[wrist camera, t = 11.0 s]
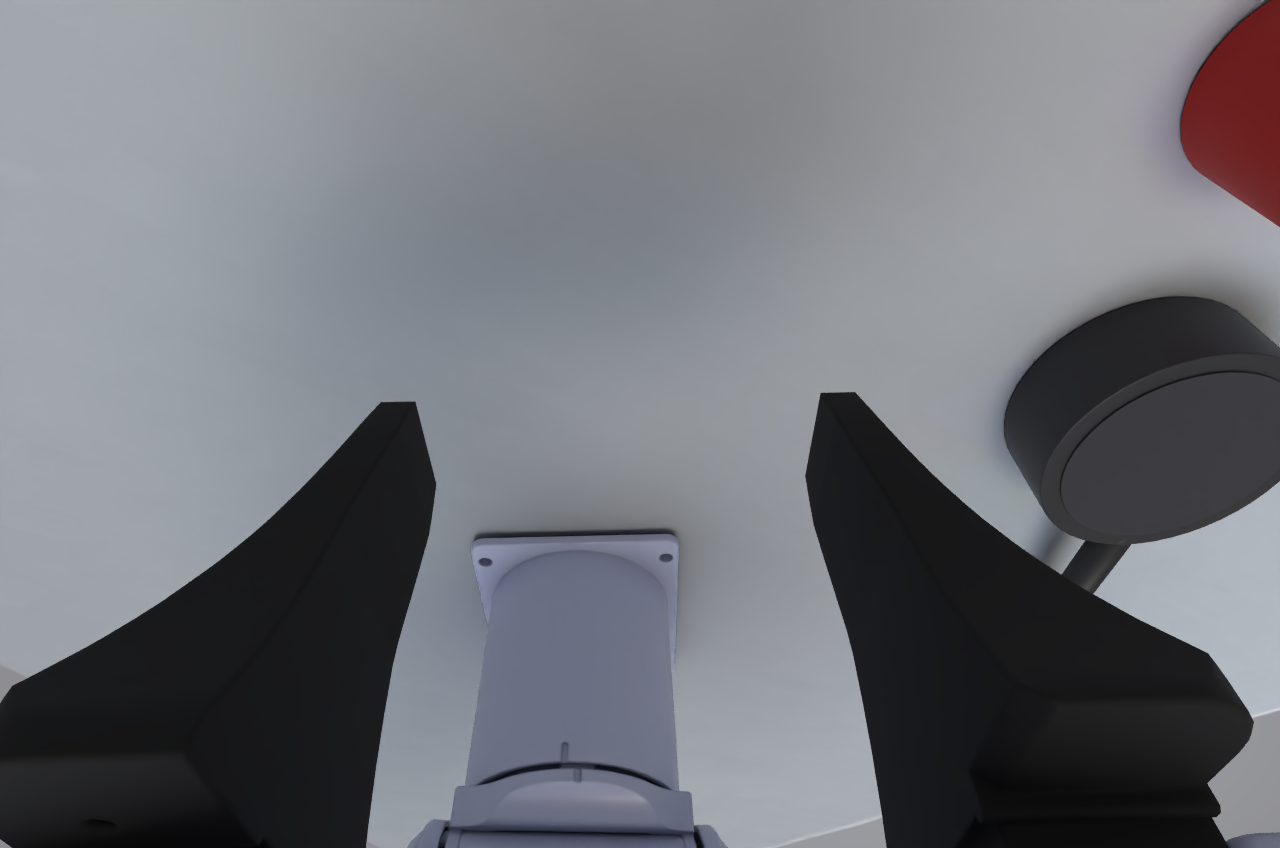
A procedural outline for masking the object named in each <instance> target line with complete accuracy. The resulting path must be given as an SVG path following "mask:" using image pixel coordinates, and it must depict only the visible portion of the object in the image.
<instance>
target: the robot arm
mask: <svg viewBox="0 0 1280 848" xmlns="http://www.w3.org/2000/svg"><path fill="white" fill-rule="evenodd" d="M805 477H806V483H807V489H808V495H809V501H810V507H811V512H812V518H813V523H814V527H815V530H816V534H817V537H818V540H819V544H820V547H821V550H822V553H823V556H824V560H825V563H826V566H827V569H828V572H829V576H830V579H831V582H832V585H833V588H834V591H835V594H836V598H837V601H838V604H839V607H840V610H841V613H842V617H843V620H844V623H845V626H846V629H847V633H848V637H849V640H850V644H851V648H852V652H853V656H854V661H855V666H856V671H857V676H858V681H859V686H860V691H861V696H862V701H863V706H864V711H865V717H866V722H867V728H868V733H869V739H870V744H871V750H872V755H873V761H874V768H875V774H876V780H877V786H878V792H879V798H880V805H881V811H882V817H883V825H884V832H885V839H886V846H887V848H1280V833H1255V834H1247V835H1242V836H1239V837H1235V838H1232V839H1229V840H1228V841H1225V840H1224V838H1223V836H1222V834H1221V833H1220V831H1219V829H1218V827H1217V826H1216V824H1215V822H1214V820H1213V819H1212V817H1217V816H1218V815H1219V814H1220V813H1221V810H1220V805H1219V803H1218V801H1217V799H1216V798H1215V796H1214V794H1213V793H1212V791H1211V789H1210V788H1209V786H1208V784H1207V783H1208V782H1209V781H1210V780H1211V779H1212V778H1213V777H1214V776H1215V775H1216V774H1217V773H1218V772H1219V771H1220V770H1221V769H1222V768H1224V767H1225V766H1226V764H1228V763H1229V762H1230V761H1231V760H1232V759H1233V758H1234V757H1235V756H1236V755H1237V754H1238V753H1239V752H1240V751H1241V749H1242V748H1243V747H1244V746H1245V744H1246V743H1247V742H1248V741H1249V739H1250V736H1251V733H1252V728H1253V724H1254V722H1253V719H1252V717H1251V715H1250V713H1249V711H1248V710H1247V708H1246V707H1245V705H1244V704H1243V702H1242V701H1241V699H1240V698H1239V696H1238V695H1237V693H1236V692H1235V690H1234V689H1233V687H1232V686H1231V684H1230V683H1229V681H1228V680H1227V678H1226V677H1225V676H1224V674H1223V673H1222V671H1221V670H1220V669H1219V667H1218V666H1217V664H1216V663H1215V662H1214V661H1213V659H1212V658H1211V657H1210V655H1209V654H1208V653H1206V652H1204V651H1202V650H1200V649H1198V648H1196V647H1194V646H1192V645H1190V644H1188V643H1186V642H1184V641H1182V640H1179V639H1177V638H1175V637H1173V636H1171V635H1169V634H1167V633H1165V632H1163V631H1161V630H1159V629H1157V628H1155V627H1153V626H1151V625H1149V624H1147V623H1145V622H1142V621H1140V620H1139V619H1137V618H1135V617H1133V616H1131V615H1129V614H1127V613H1126V612H1124V611H1122V610H1120V609H1118V608H1117V607H1115V606H1113V605H1111V604H1110V603H1108V602H1106V601H1104V600H1102V599H1101V598H1099V597H1097V596H1095V595H1093V594H1092V593H1090V592H1088V591H1087V590H1085V589H1083V588H1082V587H1080V586H1078V585H1077V584H1075V583H1073V582H1072V581H1070V580H1069V579H1067V578H1065V577H1064V576H1062V575H1061V574H1059V573H1058V572H1056V571H1055V570H1053V569H1052V568H1050V567H1049V566H1047V565H1046V564H1044V563H1043V562H1041V561H1039V560H1038V559H1036V558H1035V557H1033V556H1032V555H1031V554H1029V553H1028V552H1026V551H1025V550H1023V549H1022V548H1021V547H1019V546H1018V545H1016V544H1015V543H1014V542H1012V541H1011V540H1010V539H1008V538H1007V537H1006V536H1005V535H1003V534H1002V533H1001V532H999V531H998V530H997V529H995V528H994V527H993V526H991V525H990V524H989V523H988V522H986V521H985V520H984V519H982V518H981V517H980V516H979V515H978V514H976V513H975V512H974V511H973V510H972V509H970V508H969V507H968V506H967V505H966V504H965V503H963V502H962V501H961V500H960V499H959V498H958V497H957V496H956V495H954V494H953V493H952V492H951V491H950V490H949V489H948V488H947V487H946V486H944V485H943V484H942V483H941V482H940V481H939V480H938V479H937V478H936V477H935V476H934V475H933V474H932V473H931V472H930V471H929V470H928V469H927V468H926V467H925V466H924V465H923V464H922V463H921V462H920V461H919V460H918V459H917V458H916V457H915V456H914V455H913V454H912V453H911V452H910V451H909V450H908V449H907V448H906V447H905V446H904V445H903V444H902V443H901V442H900V441H899V440H898V438H897V437H896V436H895V435H894V434H893V433H892V432H891V431H890V430H889V429H888V428H887V427H886V425H885V424H884V423H883V422H882V421H881V420H880V419H879V418H878V417H877V416H876V415H875V413H874V412H873V411H872V410H871V409H870V408H869V407H868V406H867V405H866V404H865V402H864V401H863V400H862V399H861V398H860V397H859V396H858V395H857V394H856V393H855V392H843V393H821V395H820V400H819V405H818V411H817V416H816V421H815V427H814V432H813V437H812V443H811V448H810V453H809V459H808V464H807V470H806V475H805ZM435 490H436V481H435V477H434V473H433V469H432V465H431V462H430V458H429V454H428V450H427V446H426V442H425V438H424V434H423V430H422V426H421V422H420V418H419V414H418V410H417V406H416V402H381V403H380V404H379V405H378V406H377V407H376V408H375V409H374V410H373V411H372V412H371V413H370V414H369V415H368V417H367V418H366V419H365V420H364V421H363V422H362V423H361V424H360V425H359V427H358V428H357V429H356V430H355V431H354V432H353V433H352V434H351V436H350V437H349V438H348V439H347V440H346V441H345V442H344V443H343V444H342V446H341V447H340V448H339V449H338V450H337V451H336V452H335V453H334V454H333V456H332V457H331V458H330V459H329V460H328V461H327V462H326V463H325V464H324V465H323V466H322V467H321V468H320V469H319V470H318V471H317V473H316V474H315V475H314V476H313V477H312V478H311V479H310V480H309V481H308V482H307V483H306V484H305V485H304V486H303V487H302V488H301V489H300V490H299V491H298V492H297V493H296V494H295V495H294V496H293V497H292V498H291V499H290V500H289V501H288V502H287V503H286V504H285V505H284V506H283V507H282V508H281V509H279V510H278V511H277V512H276V513H275V514H274V515H273V516H272V517H271V518H270V519H269V520H268V521H267V522H266V523H265V524H263V525H262V526H261V527H260V528H259V529H258V530H256V531H255V532H254V533H253V534H252V535H251V536H249V537H248V538H247V539H246V540H245V541H243V542H242V543H241V544H240V545H238V546H237V547H236V548H235V549H233V550H232V551H231V552H230V553H229V554H227V555H226V556H225V557H224V558H222V559H221V560H220V561H218V562H217V563H216V564H214V565H213V566H212V567H210V568H209V569H207V570H206V571H205V572H203V573H202V574H200V575H199V576H198V577H196V578H195V579H193V580H192V581H190V582H189V583H188V584H186V585H185V586H183V587H182V588H181V589H179V590H178V591H176V592H175V593H174V594H172V595H171V596H169V597H168V598H166V599H165V600H163V601H162V602H160V603H159V604H157V605H156V606H154V607H153V608H151V609H149V610H148V611H146V612H145V613H143V614H142V615H140V616H138V617H137V618H135V619H134V620H132V621H130V622H129V623H127V624H125V625H124V626H122V627H120V628H119V629H117V630H115V631H114V632H112V633H110V634H109V635H107V636H105V637H104V638H102V639H100V640H98V641H96V642H95V643H93V644H91V645H89V646H88V647H86V648H84V649H82V650H80V651H78V652H77V653H75V654H73V655H71V656H69V657H67V658H65V659H63V660H61V661H59V662H58V663H56V664H54V665H52V666H50V667H48V668H46V669H44V670H42V671H41V672H39V673H37V674H35V675H33V676H31V677H29V678H27V679H25V680H23V681H21V682H19V683H17V684H15V685H13V686H12V687H11V689H10V690H9V691H8V693H7V694H6V696H5V697H4V698H3V700H2V701H1V703H0V839H1V840H2V841H4V842H5V843H6V844H8V845H9V846H10V847H12V848H366V841H367V832H368V824H369V816H370V809H371V801H372V793H373V786H374V778H375V771H376V764H377V757H378V751H379V744H380V738H381V731H382V725H383V718H384V712H385V706H386V701H387V695H388V689H389V684H390V678H391V672H392V667H393V662H394V658H395V654H396V649H397V645H398V641H399V638H400V634H401V631H402V627H403V624H404V620H405V617H406V613H407V610H408V607H409V603H410V600H411V596H412V593H413V589H414V586H415V582H416V579H417V576H418V572H419V569H420V565H421V561H422V558H423V554H424V551H425V547H426V544H427V540H428V536H429V531H430V525H431V519H432V512H433V505H434V497H435ZM665 554H666V555H665ZM471 556H472V560H473V565H474V569H475V573H476V578H477V582H478V586H479V591H480V595H481V599H482V604H483V608H484V612H485V616H486V621H487V625H488V633H487V640H486V647H485V653H484V660H483V667H482V674H481V680H480V687H479V694H478V701H477V707H476V714H475V721H474V727H473V734H472V741H471V748H470V754H469V761H468V768H467V775H466V781H465V786H459V787H457V788H456V789H455V795H454V801H453V808H452V814H451V820H450V821H449V820H437V819H434V820H431V821H430V822H429V823H428V824H426V826H425V828H424V829H423V831H422V832H420V833H419V834H418V835H417V836H416V837H415V838H414V839H413V840H412V841H411V842H410V843H409V845H408V847H407V848H728V847H727V846H726V845H725V844H724V842H723V841H722V840H721V839H720V837H719V835H718V834H717V832H716V831H715V829H714V828H713V827H711V826H709V825H694V821H693V808H692V795H691V793H690V792H685V791H679V779H678V763H677V747H676V732H675V716H674V700H673V684H672V673H673V672H674V663H675V638H676V614H677V589H678V564H679V542H678V539H677V538H676V537H675V536H673V535H671V534H643V535H601V536H559V537H517V538H482V539H478V540H476V541H474V542H473V544H472V548H471ZM485 558H488V559H485Z"/></svg>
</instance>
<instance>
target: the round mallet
mask: <svg viewBox="0 0 1280 848" xmlns="http://www.w3.org/2000/svg"><path fill="white" fill-rule="evenodd" d="M1004 435H1005V440H1006V444H1007V447H1008V449H1009V452H1010V454H1011V456H1012V457H1013V459H1014V461H1015V462H1016V464H1017V466H1018V468H1019V469H1020V471H1021V473H1022V474H1023V476H1024V478H1025V479H1026V481H1027V483H1028V485H1029V486H1030V488H1031V490H1032V491H1033V493H1034V495H1035V497H1036V498H1037V500H1038V502H1039V503H1040V505H1041V507H1042V509H1043V510H1044V512H1045V514H1046V515H1047V516H1048V518H1049V519H1050V520H1051V521H1052V523H1053V524H1055V525H1056V526H1057V527H1058V528H1060V529H1061V530H1062V531H1064V532H1066V533H1068V534H1070V535H1071V536H1074V537H1077V538H1079V539H1082V540H1085V542H1084V543H1083V545H1082V546H1081V548H1080V549H1079V550H1078V552H1077V553H1076V555H1075V556H1074V558H1073V559H1072V561H1071V562H1070V563H1069V565H1068V566H1067V568H1066V569H1065V571H1064V572H1063V574H1062V576H1064V577H1065V578H1067V579H1069V580H1070V581H1072V582H1073V583H1075V584H1077V585H1078V586H1080V587H1082V588H1083V589H1085V590H1087V591H1088V592H1090V593H1092V594H1093V593H1094V592H1095V591H1096V590H1097V588H1098V587H1099V586H1100V584H1101V583H1102V582H1103V581H1104V579H1105V578H1106V577H1107V575H1108V574H1109V573H1110V571H1111V570H1112V569H1113V568H1114V566H1115V565H1116V564H1117V562H1118V561H1119V560H1120V559H1121V557H1122V556H1123V555H1124V553H1125V552H1126V551H1127V549H1128V548H1129V547H1130V546H1131V544H1137V543H1145V542H1152V541H1157V540H1162V539H1166V538H1171V537H1175V536H1178V535H1181V534H1185V533H1188V532H1191V531H1194V530H1196V529H1199V528H1202V527H1205V526H1207V525H1209V524H1212V523H1214V522H1216V521H1218V520H1221V519H1223V518H1225V517H1227V516H1228V515H1230V514H1232V513H1234V512H1236V511H1238V510H1240V509H1241V508H1243V507H1245V506H1246V505H1248V504H1250V503H1251V502H1253V501H1254V500H1256V499H1257V498H1259V497H1260V496H1261V495H1263V494H1264V493H1266V492H1267V491H1268V490H1269V489H1271V488H1272V487H1273V486H1274V485H1276V484H1277V483H1278V482H1279V481H1280V348H1279V347H1278V346H1277V345H1276V344H1275V343H1274V342H1272V341H1271V340H1270V339H1269V338H1268V337H1267V336H1265V335H1264V334H1263V333H1262V332H1261V331H1260V330H1258V329H1257V328H1256V327H1255V326H1254V325H1253V324H1251V323H1250V322H1249V321H1248V320H1247V319H1246V318H1244V317H1243V316H1242V315H1241V314H1240V313H1239V312H1237V311H1236V310H1234V309H1232V308H1230V307H1228V306H1227V305H1224V304H1221V303H1218V302H1215V301H1212V300H1207V299H1201V298H1191V297H1173V298H1161V299H1156V300H1150V301H1144V302H1141V303H1137V304H1133V305H1130V306H1126V307H1123V308H1121V309H1118V310H1115V311H1113V312H1110V313H1108V314H1105V315H1103V316H1101V317H1099V318H1097V319H1095V320H1093V321H1091V322H1089V323H1087V324H1085V325H1084V326H1082V327H1080V328H1078V329H1077V330H1075V331H1073V332H1072V333H1071V334H1069V335H1068V336H1066V337H1065V338H1063V339H1062V340H1060V341H1059V342H1058V343H1057V344H1055V345H1054V346H1053V347H1052V348H1051V349H1049V350H1048V351H1047V352H1046V353H1045V354H1044V355H1043V356H1042V357H1041V358H1040V359H1039V360H1038V361H1037V362H1036V363H1035V364H1034V365H1033V366H1032V367H1031V368H1030V370H1029V371H1028V372H1027V373H1026V374H1025V376H1024V377H1023V378H1022V380H1021V382H1020V383H1019V385H1018V386H1017V388H1016V389H1015V391H1014V393H1013V395H1012V398H1011V400H1010V402H1009V405H1008V408H1007V411H1006V415H1005V422H1004Z"/></svg>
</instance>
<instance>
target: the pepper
mask: <svg viewBox="0 0 1280 848" xmlns="http://www.w3.org/2000/svg"><path fill="white" fill-rule="evenodd" d="M1181 137H1182V143H1183V148H1184V151H1185V153H1186V156H1187V158H1188V160H1189V161H1190V163H1191V164H1192V166H1193V167H1194V168H1195V169H1196V170H1197V171H1198V172H1199V173H1201V174H1202V175H1204V176H1205V177H1207V178H1208V179H1210V180H1211V181H1213V182H1214V183H1216V184H1217V185H1219V186H1220V187H1221V188H1223V189H1224V190H1226V191H1227V192H1229V193H1230V194H1232V195H1233V196H1235V197H1236V198H1238V199H1239V200H1241V201H1242V202H1244V203H1245V204H1247V205H1248V206H1250V207H1251V208H1252V209H1254V210H1255V211H1257V212H1258V213H1260V214H1261V215H1263V216H1264V217H1266V218H1267V219H1269V220H1270V221H1272V222H1273V223H1275V224H1276V225H1278V226H1279V227H1280V0H1271V1H1269V2H1268V3H1266V4H1265V5H1263V6H1262V7H1260V8H1259V9H1258V10H1256V11H1255V12H1254V13H1252V14H1251V15H1250V16H1249V17H1247V18H1246V19H1245V20H1244V21H1242V22H1241V23H1240V24H1239V25H1238V26H1237V27H1236V28H1235V29H1234V30H1233V31H1232V32H1231V33H1230V34H1229V35H1228V36H1227V37H1226V38H1225V39H1224V40H1223V41H1222V42H1221V44H1220V45H1219V46H1218V47H1217V48H1216V49H1215V51H1214V52H1213V53H1212V55H1211V56H1210V57H1209V59H1208V60H1207V61H1206V63H1205V64H1204V66H1203V68H1202V69H1201V71H1200V72H1199V74H1198V76H1197V78H1196V80H1195V82H1194V84H1193V86H1192V88H1191V90H1190V92H1189V95H1188V98H1187V100H1186V103H1185V107H1184V111H1183V115H1182V124H1181Z"/></svg>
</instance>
